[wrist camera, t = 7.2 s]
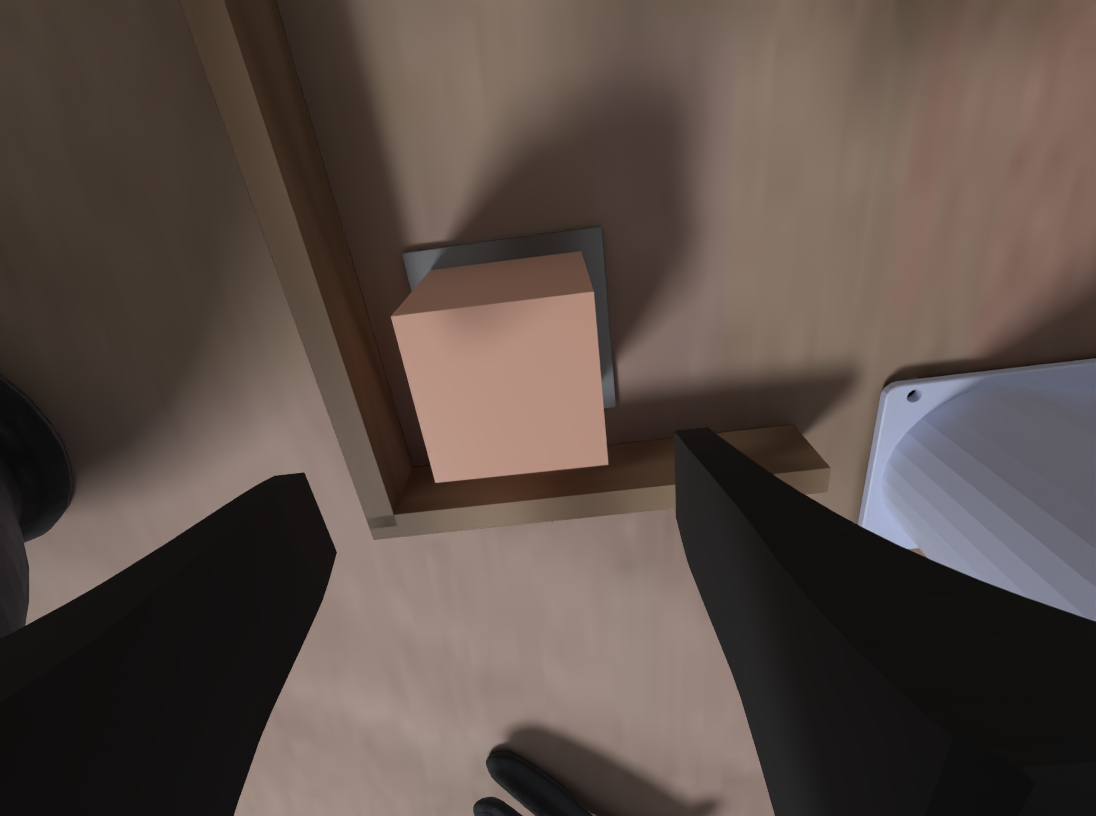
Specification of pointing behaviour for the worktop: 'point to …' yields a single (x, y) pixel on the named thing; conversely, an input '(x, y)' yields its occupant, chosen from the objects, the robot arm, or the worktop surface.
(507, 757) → the can opener
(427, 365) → the cube
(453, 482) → the arena
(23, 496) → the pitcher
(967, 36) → the worktop surface
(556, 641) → the worktop surface
